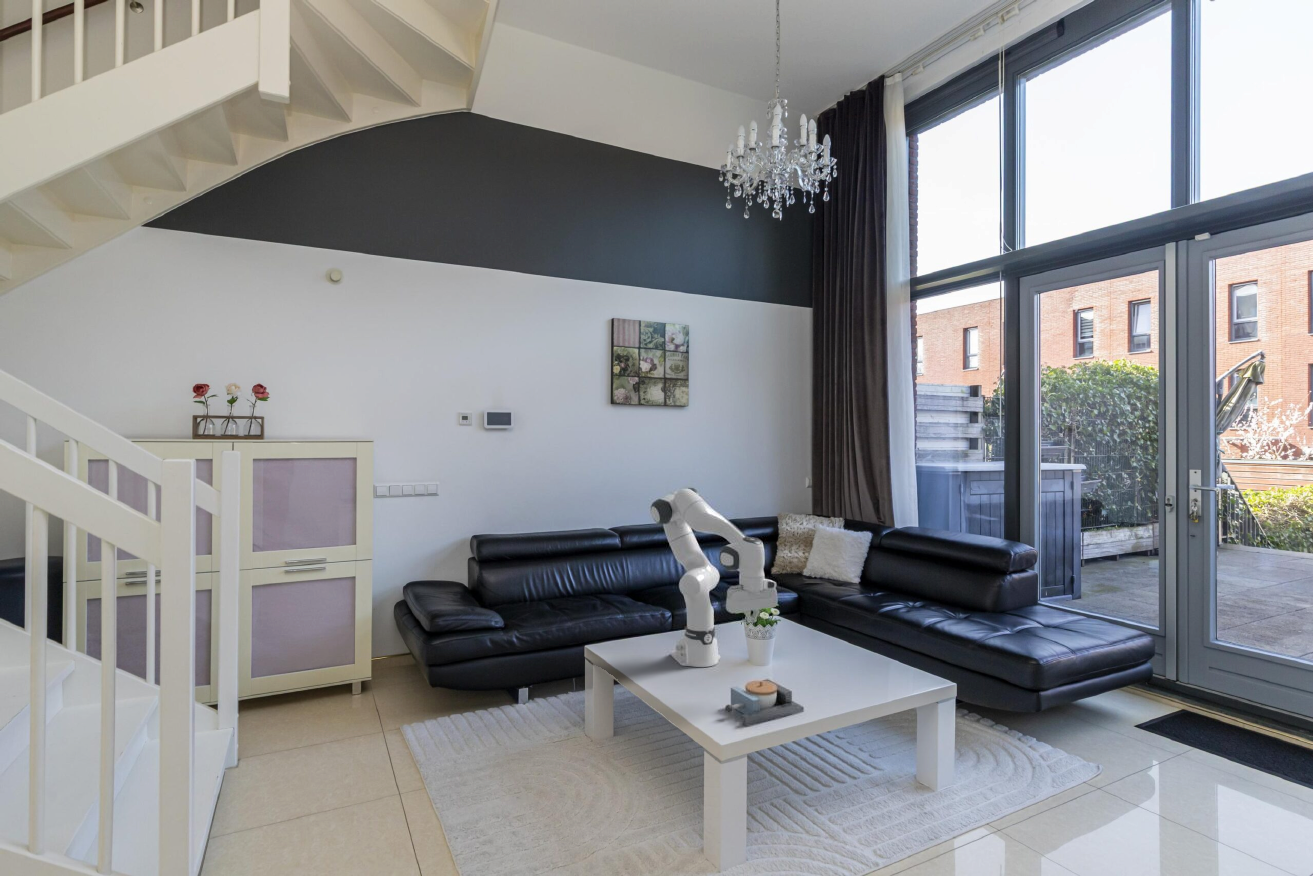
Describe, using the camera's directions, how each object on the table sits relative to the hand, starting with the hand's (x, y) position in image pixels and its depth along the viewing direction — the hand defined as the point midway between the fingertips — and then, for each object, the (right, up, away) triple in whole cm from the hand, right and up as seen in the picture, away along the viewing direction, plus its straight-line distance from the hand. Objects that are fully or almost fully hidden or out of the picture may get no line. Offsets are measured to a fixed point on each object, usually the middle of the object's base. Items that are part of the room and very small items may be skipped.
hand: (751, 622), depth 235 cm
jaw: (-7, -27, -15) cm, 31 cm away
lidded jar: (+2, -27, -10) cm, 29 cm away
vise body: (+2, -27, -11) cm, 29 cm away
